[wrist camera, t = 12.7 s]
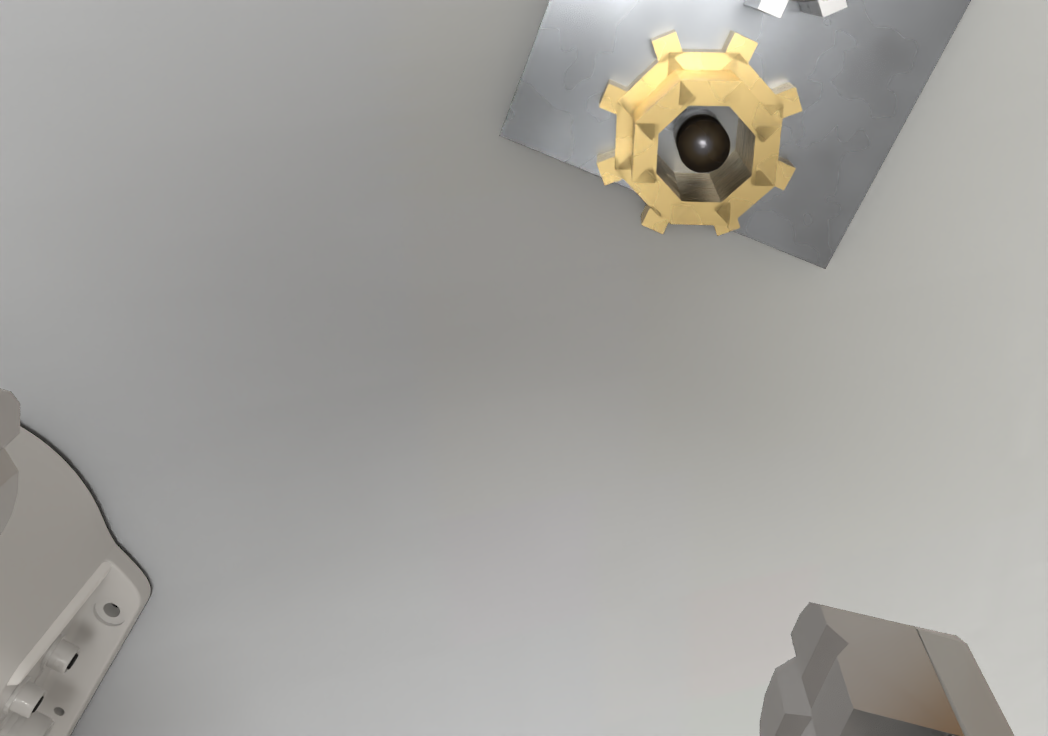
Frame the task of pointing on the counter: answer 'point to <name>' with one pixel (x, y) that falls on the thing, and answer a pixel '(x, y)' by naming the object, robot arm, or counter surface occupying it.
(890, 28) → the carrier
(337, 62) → the counter surface
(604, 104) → the gear
